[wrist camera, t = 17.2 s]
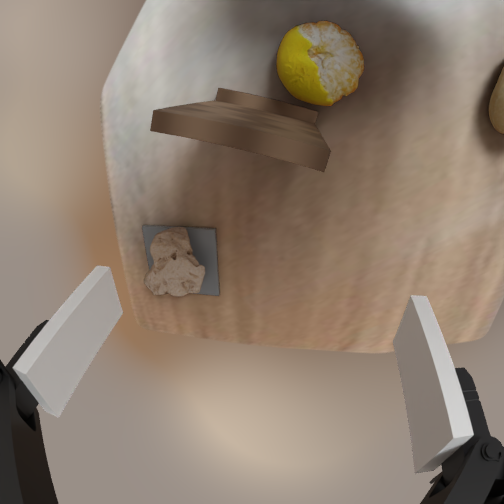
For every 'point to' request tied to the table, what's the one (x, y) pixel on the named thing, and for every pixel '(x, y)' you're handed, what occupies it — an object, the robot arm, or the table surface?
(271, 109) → the board
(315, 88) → the fruit
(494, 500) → the robot arm
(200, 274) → the stone
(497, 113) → the bread roll
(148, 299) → the table surface
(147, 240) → the pad
